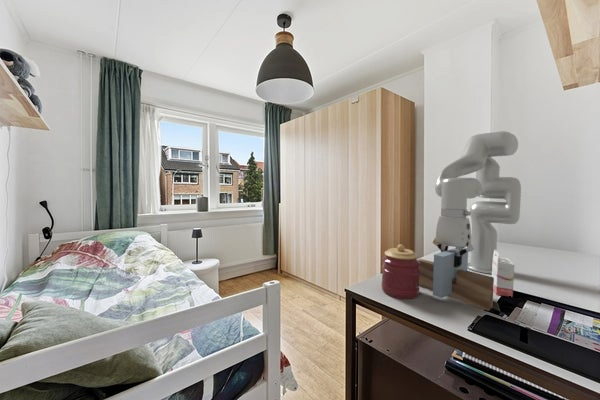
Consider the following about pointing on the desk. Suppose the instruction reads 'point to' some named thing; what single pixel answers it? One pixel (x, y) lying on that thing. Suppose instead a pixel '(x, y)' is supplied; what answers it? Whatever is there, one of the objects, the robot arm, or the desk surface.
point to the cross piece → (446, 272)
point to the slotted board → (462, 285)
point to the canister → (400, 273)
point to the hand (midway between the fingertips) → (451, 264)
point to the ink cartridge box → (502, 275)
